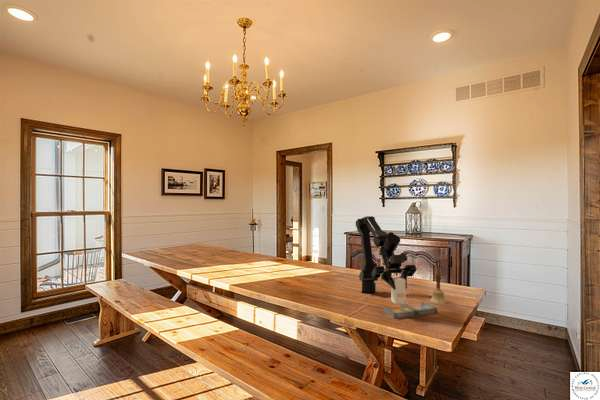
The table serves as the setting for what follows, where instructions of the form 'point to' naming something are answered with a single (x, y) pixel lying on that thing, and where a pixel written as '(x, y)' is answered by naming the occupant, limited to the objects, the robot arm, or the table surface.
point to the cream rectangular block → (399, 291)
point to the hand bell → (438, 290)
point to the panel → (410, 310)
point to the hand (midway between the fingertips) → (400, 288)
